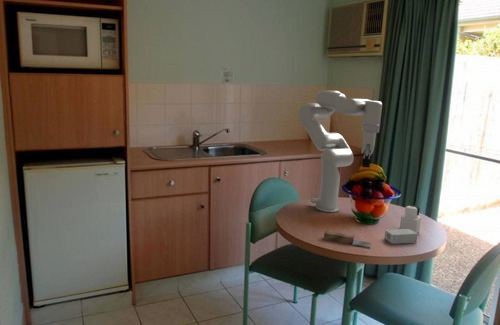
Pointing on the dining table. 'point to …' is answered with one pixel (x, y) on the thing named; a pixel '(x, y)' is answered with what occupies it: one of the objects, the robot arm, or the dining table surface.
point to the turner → (345, 239)
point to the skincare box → (400, 236)
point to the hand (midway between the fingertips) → (366, 165)
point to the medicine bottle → (411, 218)
